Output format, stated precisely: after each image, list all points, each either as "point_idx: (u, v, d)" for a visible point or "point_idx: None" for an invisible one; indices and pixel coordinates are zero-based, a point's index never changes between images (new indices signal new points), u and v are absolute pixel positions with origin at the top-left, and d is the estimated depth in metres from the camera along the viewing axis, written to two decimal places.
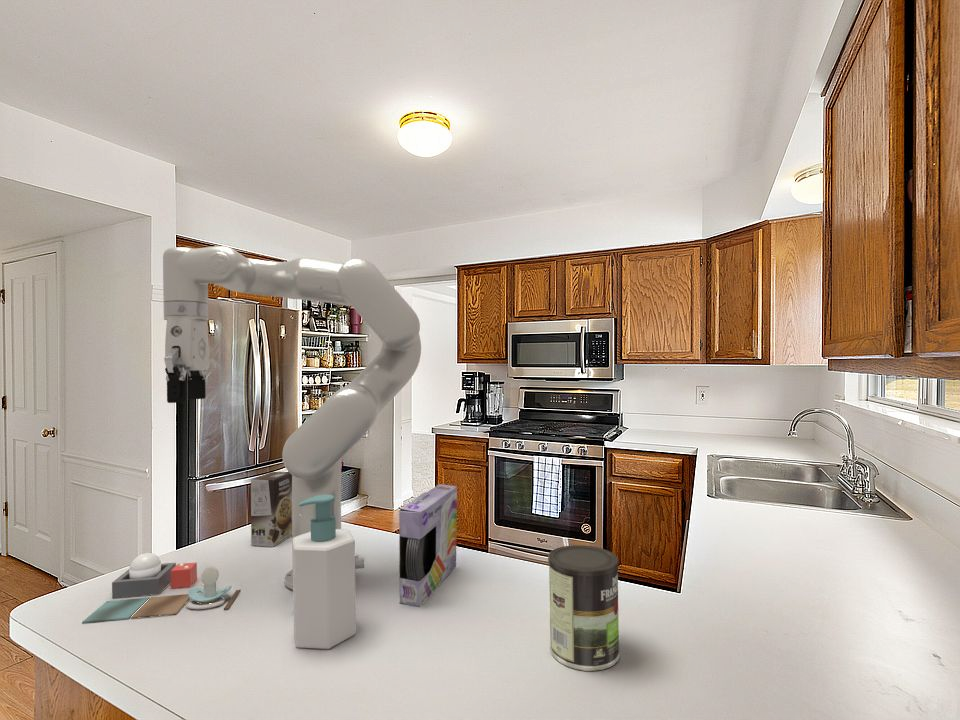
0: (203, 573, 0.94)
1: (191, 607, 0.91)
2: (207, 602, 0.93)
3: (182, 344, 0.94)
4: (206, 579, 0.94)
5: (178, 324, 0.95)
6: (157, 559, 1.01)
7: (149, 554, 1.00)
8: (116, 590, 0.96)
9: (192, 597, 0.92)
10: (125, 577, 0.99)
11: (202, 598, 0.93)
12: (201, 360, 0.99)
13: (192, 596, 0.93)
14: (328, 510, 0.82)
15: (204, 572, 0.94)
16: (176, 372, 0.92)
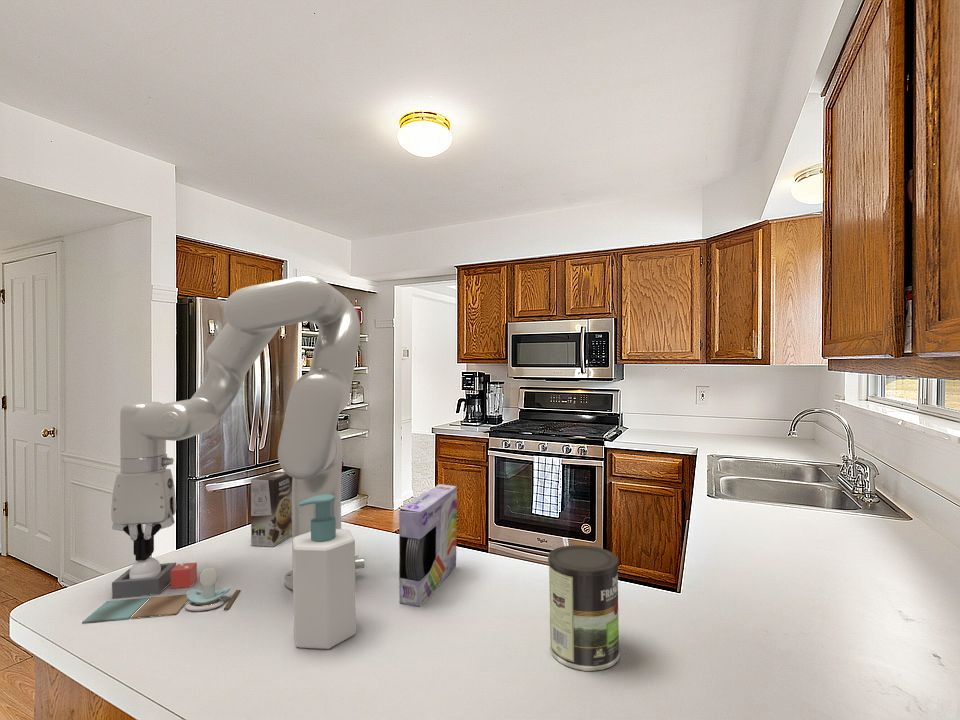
0: (202, 574, 0.94)
1: (189, 609, 0.90)
2: (206, 603, 0.92)
3: (173, 494, 1.02)
4: (205, 580, 0.93)
5: (170, 476, 1.01)
6: (157, 563, 1.01)
7: (149, 558, 1.00)
8: (116, 590, 0.96)
9: (191, 598, 0.92)
10: (125, 577, 0.99)
11: (201, 599, 0.93)
12: None
13: (190, 598, 0.92)
14: (328, 510, 0.82)
15: (203, 573, 0.94)
16: None
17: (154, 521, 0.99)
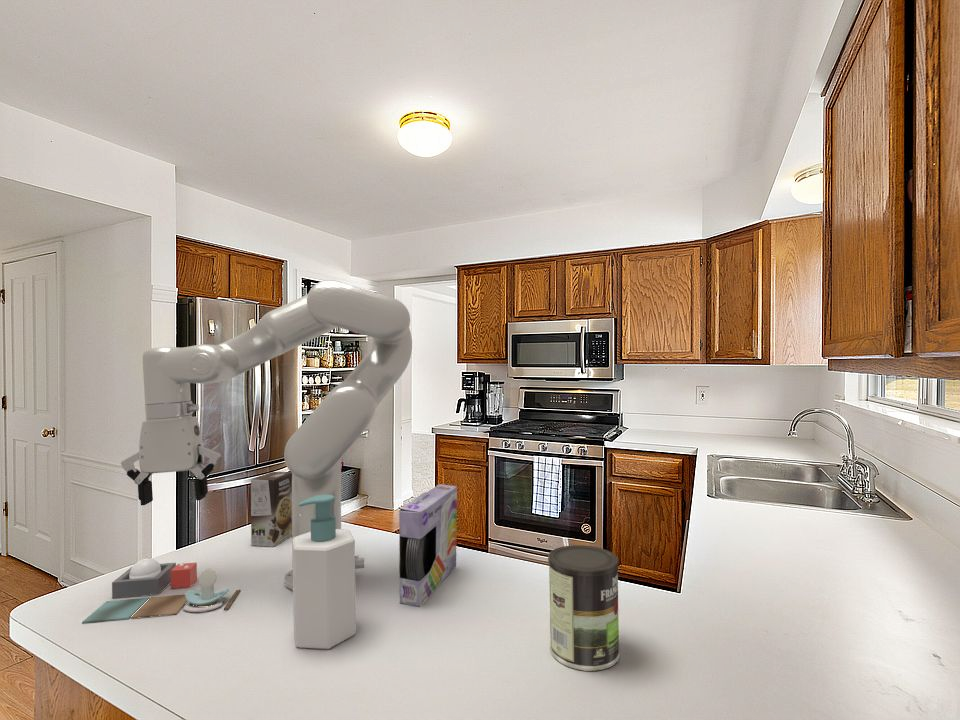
0: (201, 575, 0.93)
1: (188, 610, 0.90)
2: (204, 605, 0.92)
3: (201, 442, 0.99)
4: (204, 581, 0.93)
5: (196, 423, 0.99)
6: (157, 564, 1.01)
7: (149, 559, 1.00)
8: (116, 590, 0.96)
9: (189, 600, 0.91)
10: (125, 577, 0.99)
11: (199, 601, 0.92)
12: None
13: (189, 599, 0.92)
14: (328, 510, 0.82)
15: (202, 574, 0.93)
16: None
17: (183, 468, 0.96)
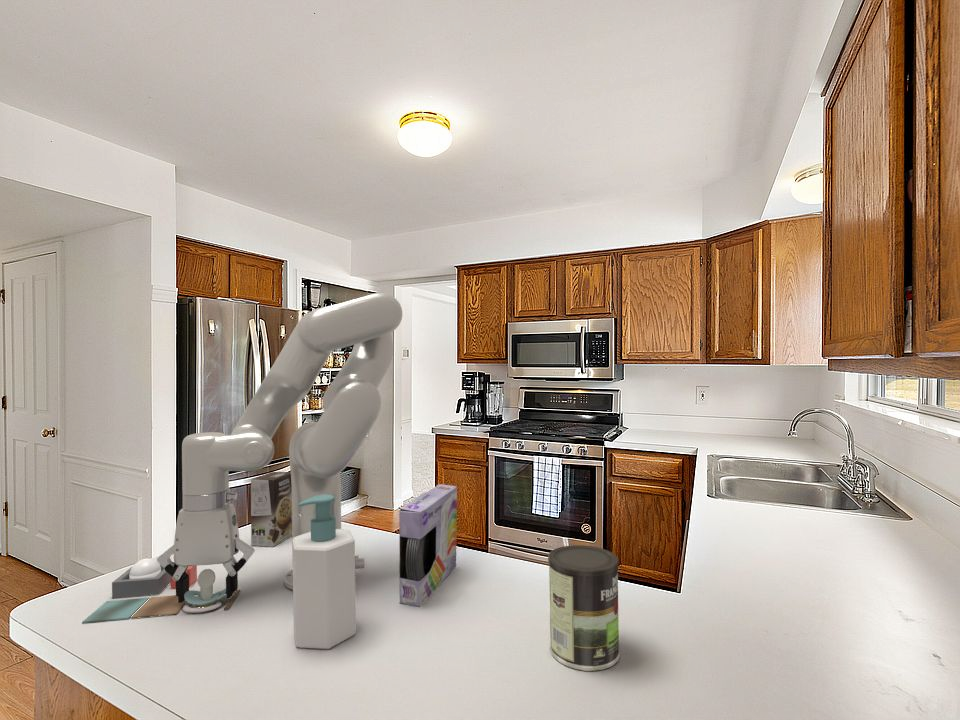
0: (199, 576, 0.93)
1: (187, 610, 0.89)
2: (203, 605, 0.91)
3: (237, 531, 0.95)
4: (202, 582, 0.93)
5: (234, 512, 0.95)
6: (157, 564, 1.01)
7: (149, 559, 1.00)
8: (116, 590, 0.96)
9: (188, 600, 0.91)
10: (125, 577, 0.99)
11: (198, 601, 0.92)
12: None
13: (188, 599, 0.91)
14: (328, 510, 0.82)
15: (200, 575, 0.93)
16: None
17: (219, 562, 0.92)
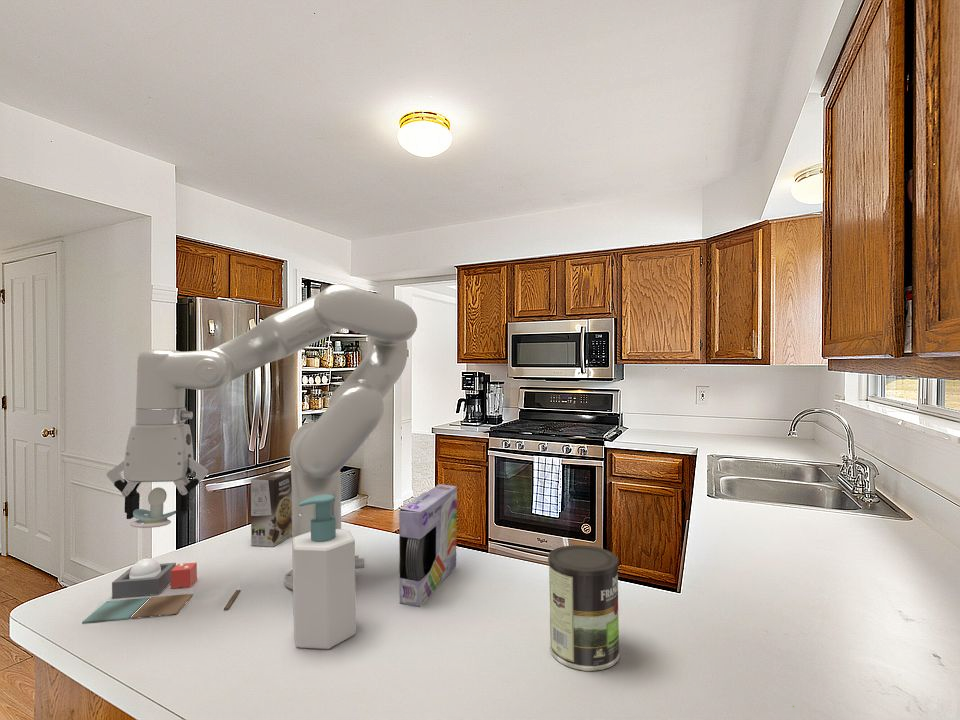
0: (150, 493, 0.91)
1: (134, 525, 0.88)
2: (152, 522, 0.90)
3: (191, 451, 0.94)
4: (153, 499, 0.91)
5: (188, 432, 0.93)
6: (157, 564, 1.01)
7: (149, 559, 1.00)
8: (116, 590, 0.96)
9: (137, 516, 0.89)
10: (125, 577, 0.99)
11: (147, 518, 0.90)
12: None
13: (136, 516, 0.90)
14: (328, 510, 0.82)
15: (151, 492, 0.91)
16: None
17: (170, 479, 0.91)
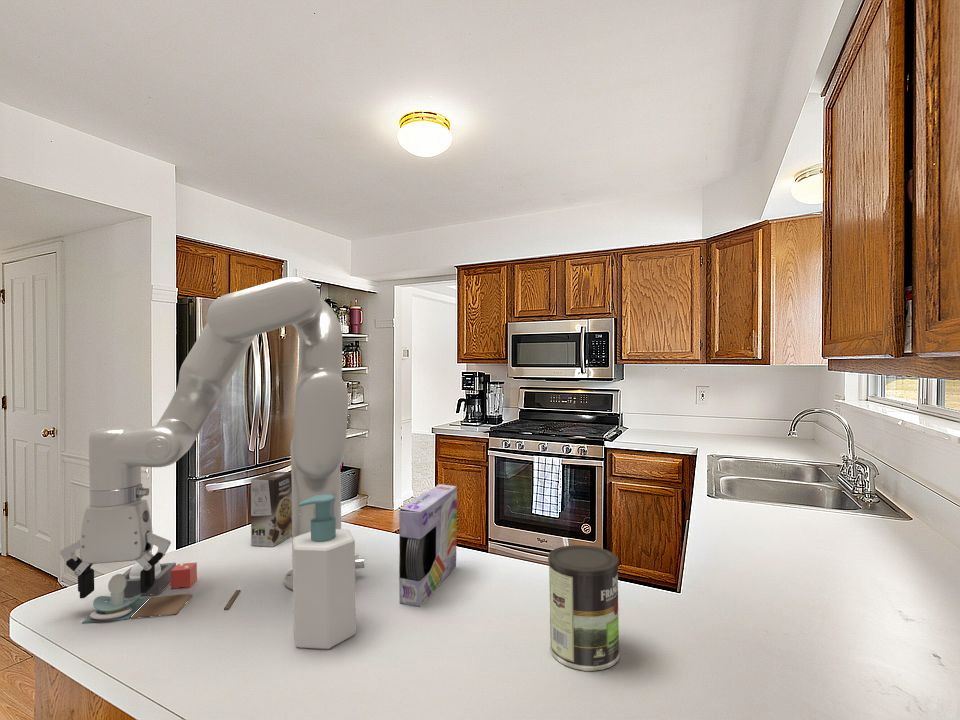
0: (110, 581, 0.90)
1: (94, 617, 0.87)
2: (113, 611, 0.89)
3: (150, 528, 0.93)
4: (113, 587, 0.90)
5: (145, 508, 0.92)
6: (157, 564, 1.01)
7: None
8: None
9: (97, 606, 0.88)
10: None
11: (108, 607, 0.89)
12: None
13: (96, 605, 0.89)
14: (328, 510, 0.82)
15: (111, 580, 0.90)
16: None
17: (128, 559, 0.89)
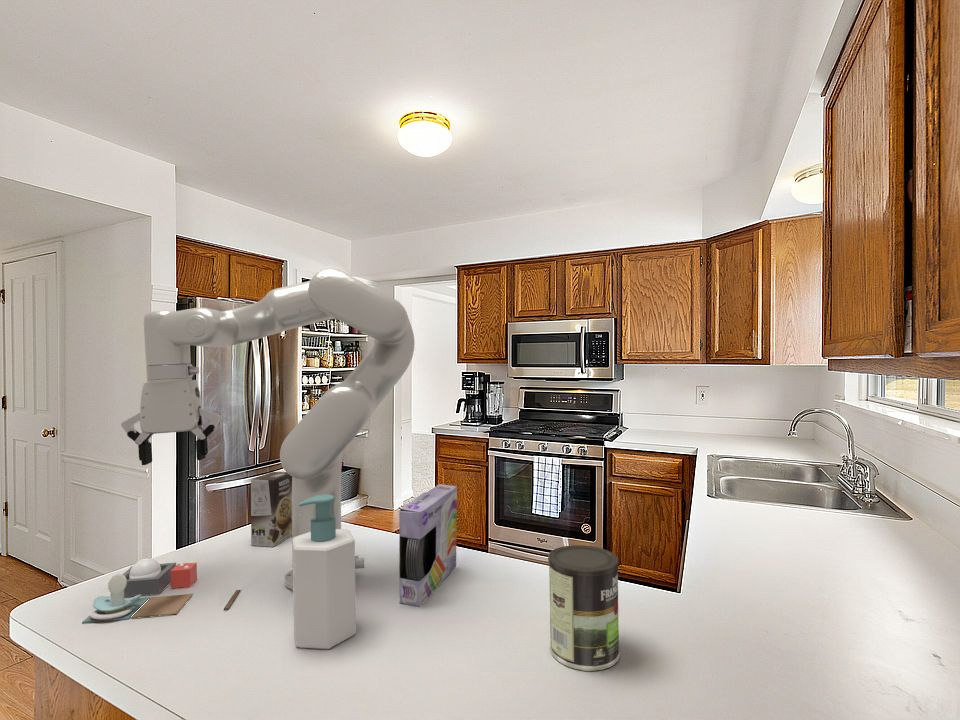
0: (110, 581, 0.90)
1: (93, 617, 0.87)
2: (113, 611, 0.89)
3: (201, 404, 1.02)
4: (113, 587, 0.90)
5: (196, 386, 1.01)
6: (157, 564, 1.01)
7: (149, 559, 1.00)
8: None
9: (97, 606, 0.88)
10: None
11: (108, 607, 0.89)
12: None
13: (96, 605, 0.89)
14: (328, 510, 0.82)
15: (111, 580, 0.90)
16: None
17: (184, 429, 0.99)
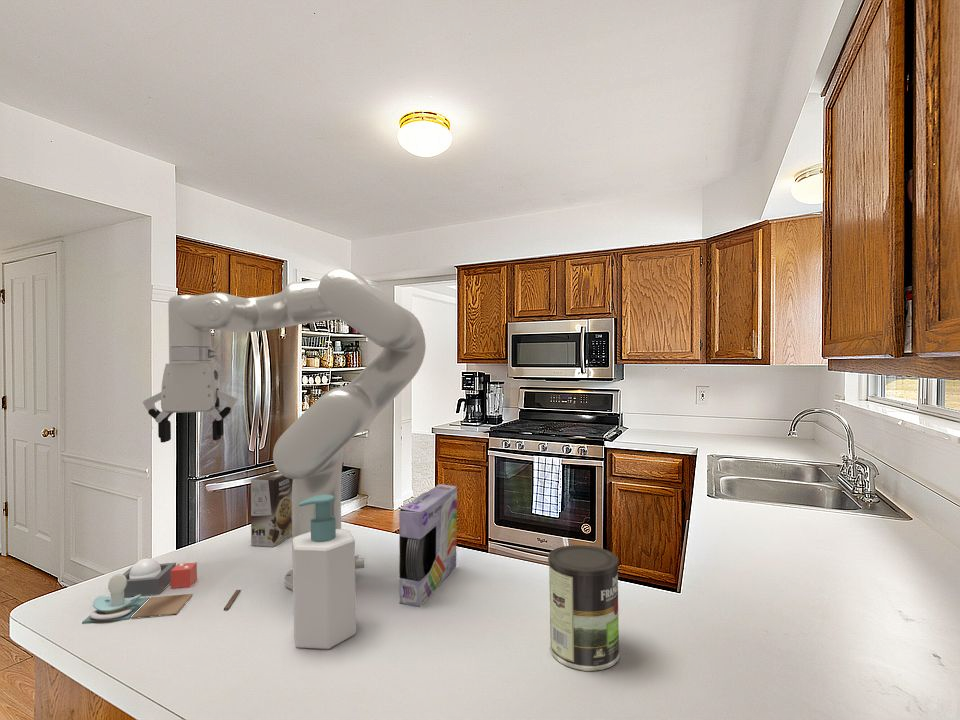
0: (110, 581, 0.90)
1: (93, 617, 0.87)
2: (113, 611, 0.89)
3: (219, 386, 1.06)
4: (113, 587, 0.90)
5: (215, 369, 1.05)
6: (157, 564, 1.01)
7: (149, 559, 1.00)
8: None
9: (97, 606, 0.88)
10: None
11: (108, 607, 0.89)
12: None
13: (96, 605, 0.89)
14: (328, 510, 0.82)
15: (111, 580, 0.90)
16: None
17: (202, 409, 1.02)
